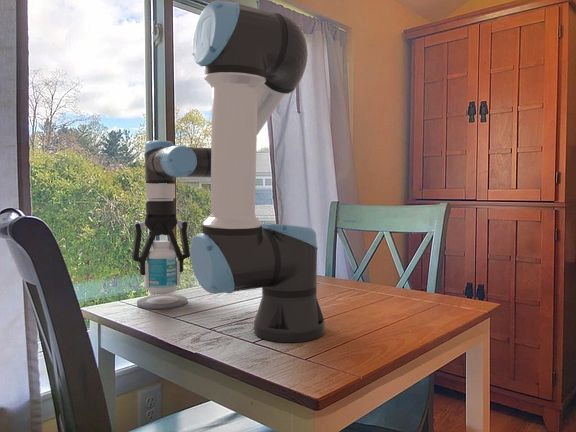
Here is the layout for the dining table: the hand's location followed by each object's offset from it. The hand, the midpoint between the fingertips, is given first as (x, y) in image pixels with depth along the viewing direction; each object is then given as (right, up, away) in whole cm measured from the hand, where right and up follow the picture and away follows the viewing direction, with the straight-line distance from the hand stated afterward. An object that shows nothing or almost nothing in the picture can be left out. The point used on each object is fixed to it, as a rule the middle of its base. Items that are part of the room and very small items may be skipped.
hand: (162, 285), depth 128 cm
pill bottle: (0, -2, 0) cm, 2 cm away
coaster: (0, -5, 0) cm, 5 cm away
